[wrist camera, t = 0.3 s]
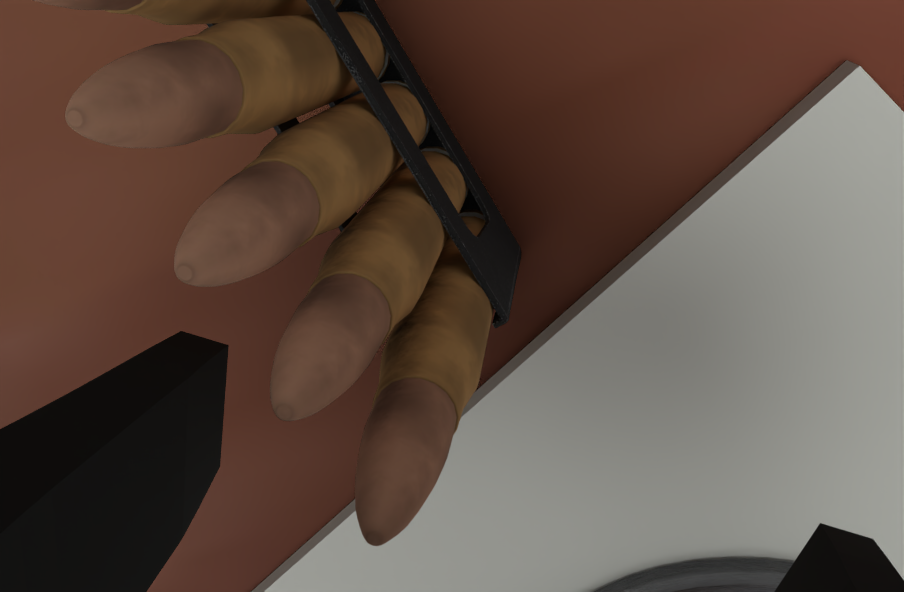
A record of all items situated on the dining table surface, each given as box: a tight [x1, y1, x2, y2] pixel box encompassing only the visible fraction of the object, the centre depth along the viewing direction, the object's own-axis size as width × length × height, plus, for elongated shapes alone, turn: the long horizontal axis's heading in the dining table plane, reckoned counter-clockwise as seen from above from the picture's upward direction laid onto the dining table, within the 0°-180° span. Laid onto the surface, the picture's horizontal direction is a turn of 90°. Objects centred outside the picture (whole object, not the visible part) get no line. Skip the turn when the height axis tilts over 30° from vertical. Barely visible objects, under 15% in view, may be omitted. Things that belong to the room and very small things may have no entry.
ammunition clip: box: [34, 0, 521, 546], centre depth 13 cm, size 11×2×12 cm, turn 32°
